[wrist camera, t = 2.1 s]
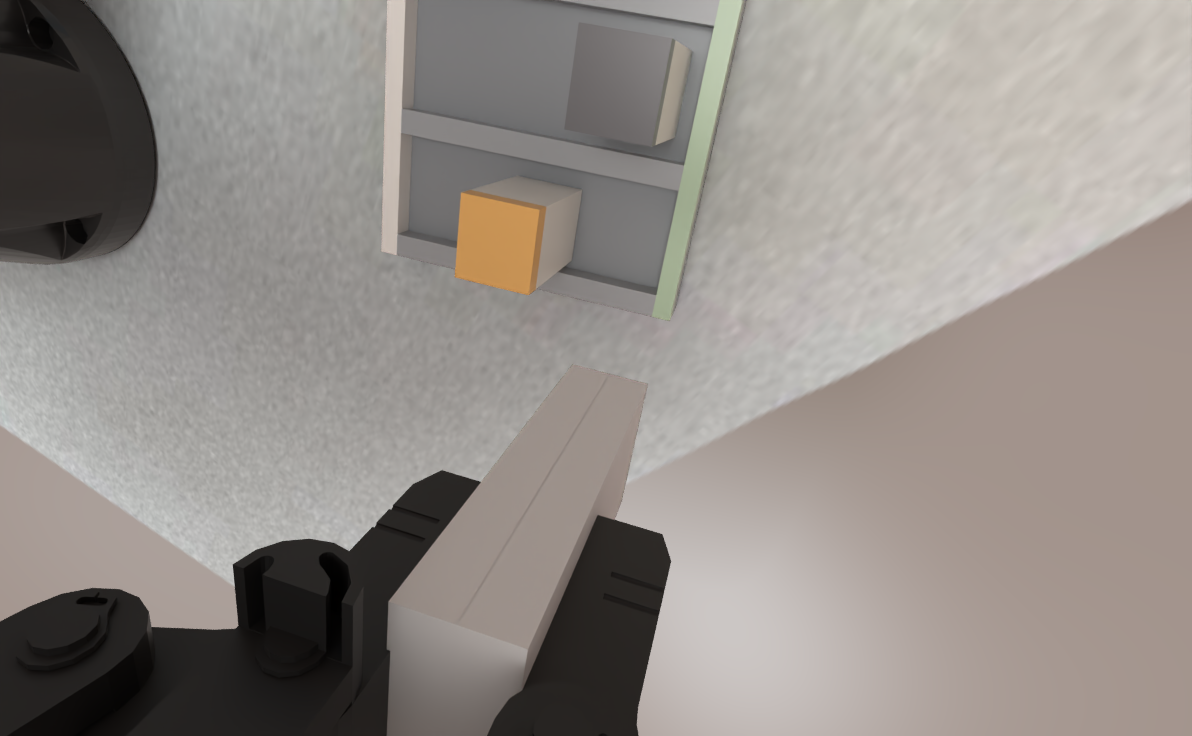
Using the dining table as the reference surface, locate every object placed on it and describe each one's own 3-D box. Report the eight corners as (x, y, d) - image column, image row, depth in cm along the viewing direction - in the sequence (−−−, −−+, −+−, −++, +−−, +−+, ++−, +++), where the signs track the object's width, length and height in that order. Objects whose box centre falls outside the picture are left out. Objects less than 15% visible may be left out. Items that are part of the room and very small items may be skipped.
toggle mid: (604, 123, 27) (563, 129, 21) (618, 38, 25) (578, 21, 20) (675, 137, 26) (651, 146, 21) (692, 51, 25) (672, 38, 20)
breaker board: (404, 242, 32) (381, 251, 30) (423, -212, 25) (393, -239, 23) (675, 306, 30) (669, 321, 28) (785, -170, 23) (787, -196, 21)
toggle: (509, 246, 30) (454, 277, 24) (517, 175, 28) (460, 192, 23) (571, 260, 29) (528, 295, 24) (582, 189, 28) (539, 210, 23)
